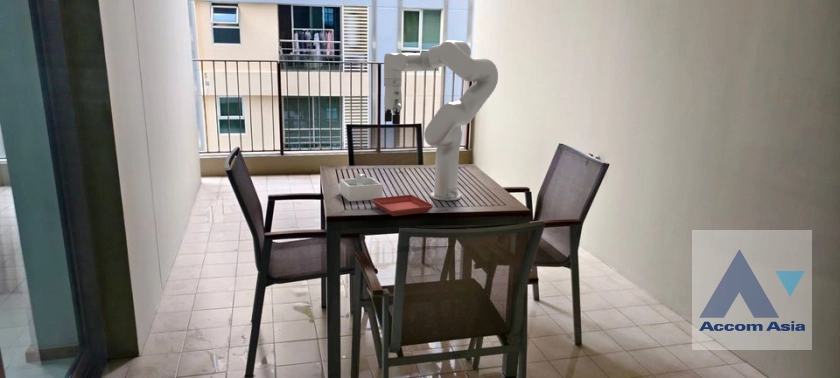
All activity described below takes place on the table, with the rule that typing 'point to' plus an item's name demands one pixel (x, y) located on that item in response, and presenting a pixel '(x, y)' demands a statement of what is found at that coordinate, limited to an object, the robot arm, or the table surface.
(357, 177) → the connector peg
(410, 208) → the plant saucer
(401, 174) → the table surface
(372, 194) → the walled box
